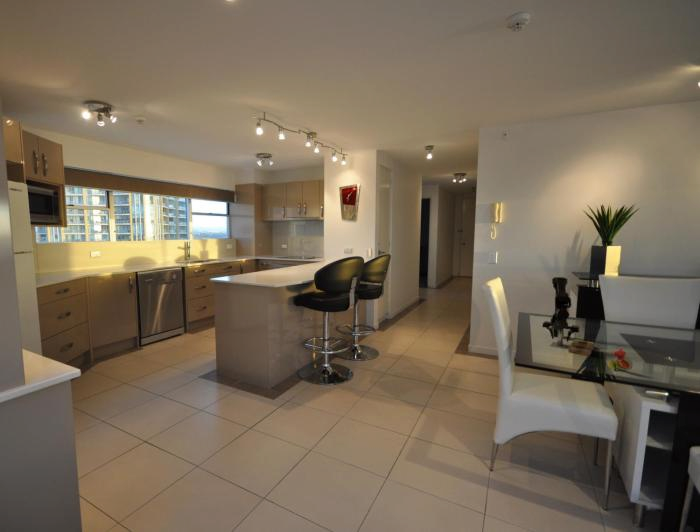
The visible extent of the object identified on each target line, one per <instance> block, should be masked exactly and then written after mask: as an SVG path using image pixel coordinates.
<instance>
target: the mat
mask: <svg viewBox="0 0 700 532" xmlns="http://www.w3.org/2000/svg"><path fill="white" fill-rule="evenodd" d="M570 345H571V344H568V343H563V346H557V341H552V343H551V344H550V345H549V347H551V348H552V347H553V348H558V349H563V350H569V347H570Z"/></svg>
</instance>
